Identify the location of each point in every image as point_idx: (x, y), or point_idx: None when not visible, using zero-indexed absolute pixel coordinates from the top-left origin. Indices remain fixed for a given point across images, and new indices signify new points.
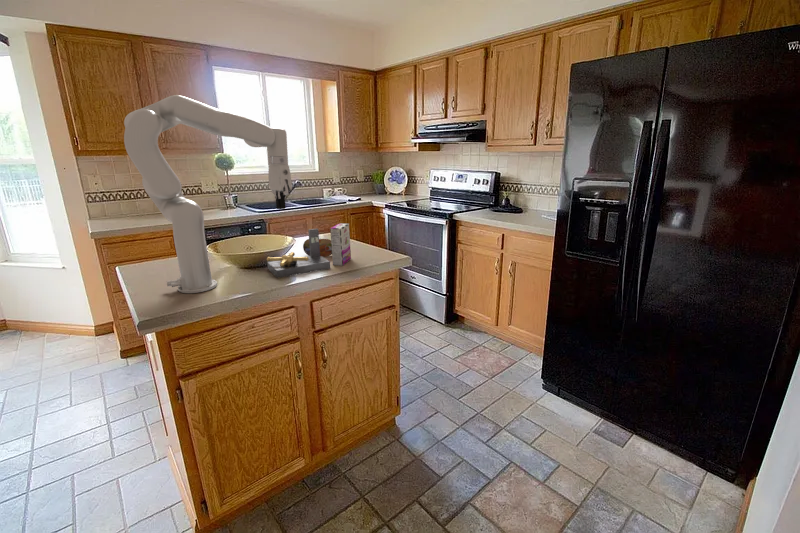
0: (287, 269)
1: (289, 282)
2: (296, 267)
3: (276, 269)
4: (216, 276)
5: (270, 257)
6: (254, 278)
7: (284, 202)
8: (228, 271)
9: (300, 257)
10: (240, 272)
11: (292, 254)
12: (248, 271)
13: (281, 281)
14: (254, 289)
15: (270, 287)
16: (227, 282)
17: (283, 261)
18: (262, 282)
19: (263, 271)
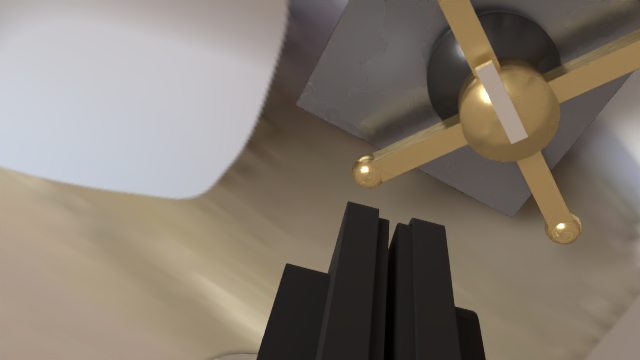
0: (556, 160)
1: (634, 223)
2: (601, 107)
3: (494, 204)
4: (174, 292)
5: (374, 166)
6: None
7: (447, 335)
8: (141, 216)
9: (622, 63)
10: (215, 203)
11: (470, 4)
12: (238, 172)
13: None
14: (516, 352)
15: (577, 311)
16: None
17: (553, 207)
18: (477, 275)
19: (320, 135)
